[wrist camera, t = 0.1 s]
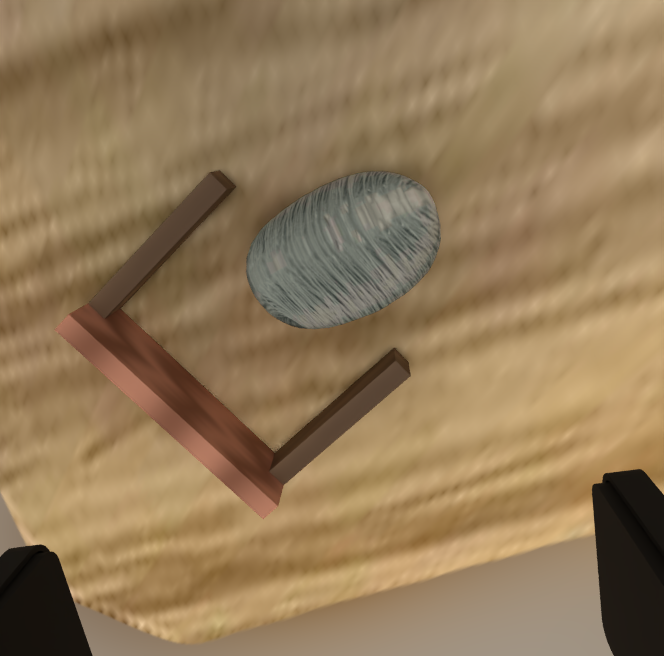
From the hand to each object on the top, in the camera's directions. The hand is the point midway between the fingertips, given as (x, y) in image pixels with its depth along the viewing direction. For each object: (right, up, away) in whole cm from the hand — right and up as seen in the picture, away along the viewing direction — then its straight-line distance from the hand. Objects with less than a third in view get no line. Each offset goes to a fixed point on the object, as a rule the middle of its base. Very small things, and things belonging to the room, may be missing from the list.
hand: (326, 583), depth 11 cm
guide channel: (-6, +4, +38) cm, 39 cm away
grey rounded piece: (+1, +11, +36) cm, 37 cm away
